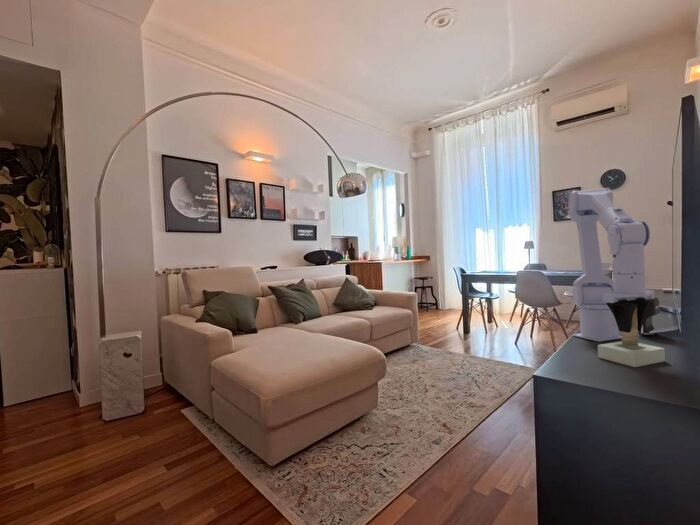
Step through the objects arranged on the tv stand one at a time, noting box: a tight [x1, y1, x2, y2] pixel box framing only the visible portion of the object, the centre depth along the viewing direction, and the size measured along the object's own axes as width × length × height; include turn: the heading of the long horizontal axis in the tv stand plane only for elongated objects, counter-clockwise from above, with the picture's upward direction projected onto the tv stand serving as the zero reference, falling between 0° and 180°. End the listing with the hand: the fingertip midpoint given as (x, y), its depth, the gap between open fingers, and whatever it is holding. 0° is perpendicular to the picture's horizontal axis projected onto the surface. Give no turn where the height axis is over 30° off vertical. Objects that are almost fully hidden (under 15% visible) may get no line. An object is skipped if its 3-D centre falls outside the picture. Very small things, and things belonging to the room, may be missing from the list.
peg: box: [620, 307, 639, 346], centre depth 79 cm, size 3×3×9 cm
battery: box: [638, 296, 661, 335], centre depth 100 cm, size 7×4×11 cm, turn 126°
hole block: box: [597, 340, 666, 368], centre depth 79 cm, size 10×8×3 cm
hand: (629, 330), depth 79 cm, fingers closed on peg, 3 cm apart
